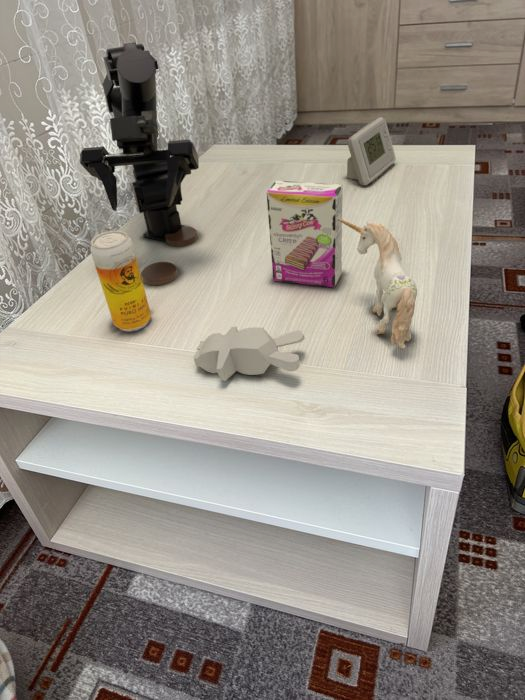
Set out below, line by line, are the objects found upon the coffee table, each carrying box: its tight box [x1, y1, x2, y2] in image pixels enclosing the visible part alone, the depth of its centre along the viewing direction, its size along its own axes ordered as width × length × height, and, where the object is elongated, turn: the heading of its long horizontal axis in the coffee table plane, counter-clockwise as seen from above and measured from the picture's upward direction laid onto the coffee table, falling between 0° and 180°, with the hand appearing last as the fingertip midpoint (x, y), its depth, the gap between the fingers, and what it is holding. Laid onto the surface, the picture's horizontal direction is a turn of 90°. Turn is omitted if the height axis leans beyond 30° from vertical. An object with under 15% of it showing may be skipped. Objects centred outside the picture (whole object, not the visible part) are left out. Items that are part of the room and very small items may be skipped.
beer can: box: [90, 230, 152, 332], centre depth 85 cm, size 6×6×15 cm
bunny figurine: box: [192, 325, 305, 381], centre depth 77 cm, size 10×5×15 cm
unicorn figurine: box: [336, 218, 418, 349], centre depth 80 cm, size 7×20×13 cm, turn 20°
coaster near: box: [140, 261, 178, 287], centre depth 100 cm, size 6×6×1 cm
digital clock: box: [346, 116, 397, 186], centre depth 125 cm, size 16×9×11 cm, turn 134°
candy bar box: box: [266, 180, 343, 289], centre depth 90 cm, size 11×5×16 cm, turn 71°
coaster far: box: [165, 225, 199, 248], centre depth 110 cm, size 6×6×1 cm
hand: (141, 208), depth 91 cm, fingers open, 9 cm apart
